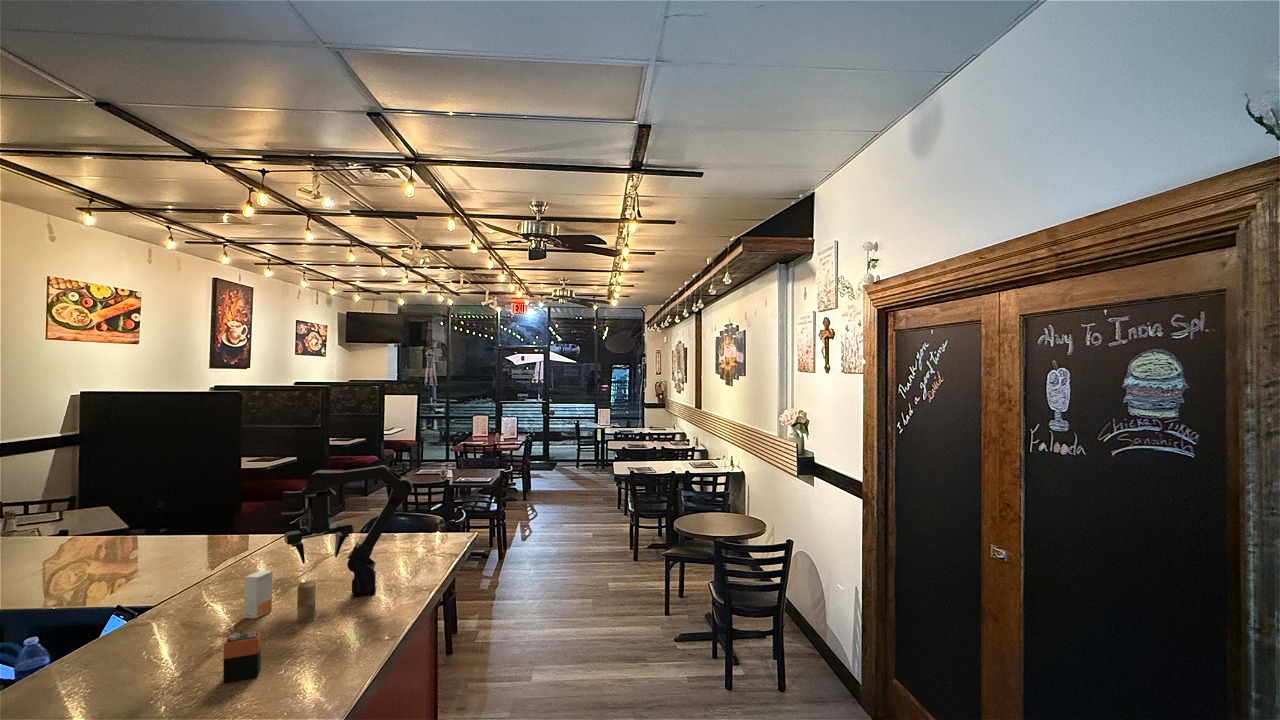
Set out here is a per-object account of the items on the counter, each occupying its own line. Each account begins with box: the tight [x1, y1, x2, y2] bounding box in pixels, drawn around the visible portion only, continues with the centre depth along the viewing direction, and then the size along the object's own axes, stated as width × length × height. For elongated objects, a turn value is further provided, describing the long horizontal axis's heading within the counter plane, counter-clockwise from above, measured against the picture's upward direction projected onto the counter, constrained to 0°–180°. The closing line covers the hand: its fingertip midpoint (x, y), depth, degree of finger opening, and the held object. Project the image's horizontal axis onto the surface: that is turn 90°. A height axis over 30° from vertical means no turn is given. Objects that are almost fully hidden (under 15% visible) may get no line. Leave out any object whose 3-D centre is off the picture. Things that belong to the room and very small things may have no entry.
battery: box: [222, 631, 262, 684], centre depth 140 cm, size 4×7×10 cm, turn 114°
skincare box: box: [243, 570, 274, 620], centre depth 176 cm, size 6×4×12 cm
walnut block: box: [296, 581, 317, 624], centre depth 172 cm, size 4×4×10 cm
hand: (320, 560), depth 189 cm, fingers open, 9 cm apart
